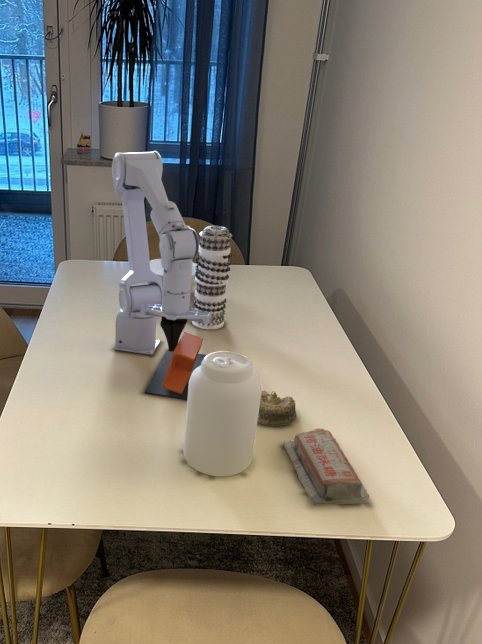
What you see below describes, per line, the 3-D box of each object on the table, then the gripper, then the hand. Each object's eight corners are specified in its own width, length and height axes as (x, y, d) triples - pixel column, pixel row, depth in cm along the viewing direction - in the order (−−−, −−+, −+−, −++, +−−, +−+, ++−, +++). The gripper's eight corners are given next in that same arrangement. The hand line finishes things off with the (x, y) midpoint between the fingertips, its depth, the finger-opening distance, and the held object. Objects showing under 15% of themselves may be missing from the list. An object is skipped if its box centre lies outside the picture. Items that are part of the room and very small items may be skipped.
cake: (293, 432, 127) (296, 410, 124) (242, 424, 130) (245, 402, 127) (298, 405, 135) (302, 383, 132) (251, 397, 138) (253, 376, 134)
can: (202, 485, 111) (212, 382, 101) (171, 446, 121) (177, 349, 110) (264, 469, 116) (280, 370, 105) (229, 433, 125) (240, 339, 115)
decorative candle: (216, 314, 176) (225, 222, 163) (230, 328, 169) (241, 232, 156) (185, 317, 174) (192, 224, 161) (198, 331, 166) (206, 234, 153)
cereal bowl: (200, 301, 185) (202, 277, 181) (142, 299, 185) (143, 275, 181) (197, 280, 199) (199, 258, 195) (143, 278, 199) (144, 256, 195)
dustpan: (161, 387, 138) (173, 351, 132) (178, 354, 151) (190, 320, 146) (181, 394, 137) (194, 359, 132) (196, 360, 151) (208, 327, 146)
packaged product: (376, 481, 106) (316, 483, 105) (369, 505, 108) (311, 507, 107) (338, 423, 121) (286, 424, 120) (333, 444, 123) (282, 446, 122)
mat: (144, 393, 138) (144, 391, 138) (168, 350, 156) (168, 349, 156) (227, 406, 134) (228, 405, 134) (242, 361, 152) (242, 360, 152)
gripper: (137, 291, 131) (135, 352, 138) (207, 300, 128) (202, 362, 135) (146, 280, 136) (144, 339, 144) (213, 288, 133) (208, 348, 141)
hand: (172, 349), depth 140 cm, fingers closed
